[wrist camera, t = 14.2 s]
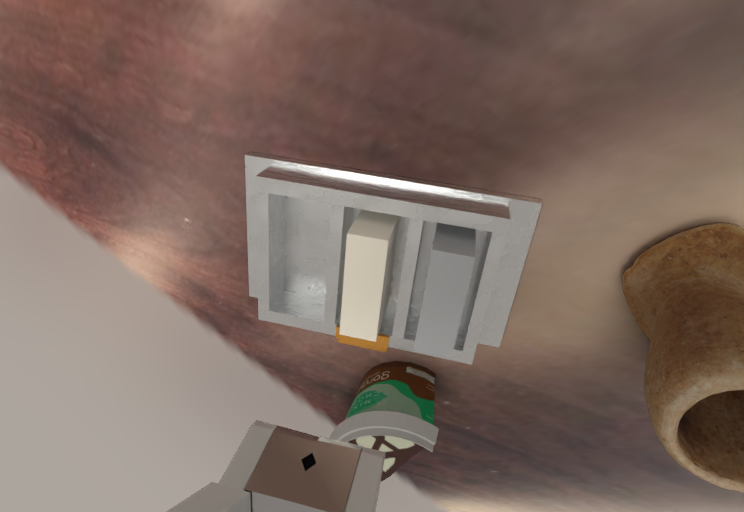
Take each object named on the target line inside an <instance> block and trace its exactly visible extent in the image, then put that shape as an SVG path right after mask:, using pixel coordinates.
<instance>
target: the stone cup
mask: <svg viewBox="0 0 744 512" xmlns="http://www.w3.org/2000/svg"><path fill="white" fill-rule="evenodd" d="M622 285H623V292H624V295H625V298H626V300H627V303H628V305H629V308H630V310H631V312H632V314H633V316H634V318H635V320H636V322H637V323H638V325H639V326H640V328H641V329H642V331H643V332H644V334H645V335H646V336H647V337H648V339H649V340H650V341H651V344H650V347H649V351H648V356H647V362H646V368H645V379H644V389H645V397H646V402H647V407H648V411H649V415H650V418H651V421H652V424H653V427H654V430H655V432H656V434H657V436H658V438H659V440H660V441H661V443H662V444H663V446H664V447H665V449H666V451H667V452H668V453H669V454H670V455H671V456H672V457H673V458H674V459H675V460H676V461H677V462H678V463H679V464H680V465H681V466H682V467H684V468H685V469H687V470H688V471H690V472H691V473H693V474H694V475H696V476H698V477H700V478H701V479H703V480H705V481H707V482H709V483H712V484H714V485H717V486H719V487H722V488H726V489H729V490H736V491H738V492H741V493H744V229H743V228H741V227H740V226H738V225H735V224H729V223H714V224H707V225H703V226H699V227H696V228H692V229H689V230H685V231H683V232H680V233H678V234H675V235H673V236H671V237H669V238H667V239H665V240H663V241H662V242H660V243H658V244H656V245H654V246H652V247H650V248H649V249H647V250H646V251H644V252H643V253H642V254H641V255H640V256H639V257H638V258H637V259H636V261H635V262H634V264H633V266H632V267H630V268H628V269H626V271H625V272H624V273H623V277H622Z"/></svg>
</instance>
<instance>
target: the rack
mask: <svg viewBox="0 0 744 512" xmlns="http://www.w3.org/2000/svg"><path fill="white" fill-rule="evenodd" d="M245 175H246V206H247V238H248V269H249V296H252V297H256V298H258V312H259V319H260V320H264V321H269V322H274V323H278V324H283V325H288V326H292V327H297V328H302V329H307V330H311V331H316V332H321V333H325V334H330V335H335V336H336V337H335V338H338V342H340V343H344V344H349V345H354V346H358V347H363V348H368V349H372V350H377V351H382V352H386V351H387V348H388V347H391V348H396V349H401V350H405V351H410V352H415V353H419V354H424V355H429V356H433V357H438V358H443V359H447V360H452V361H457V362H462V363H466V364H471V365H472V362H473V358H474V355H475V351H476V347H477V343H479V344H484V345H489V346H494V347H500V344H501V340H502V337H503V334H504V330H505V327H506V324H507V320H508V317H509V314H510V310H511V307H512V303H513V300H514V297H515V293H516V290H517V287H518V283H519V280H520V277H521V273H522V270H523V267H524V263H525V260H526V257H527V253H528V250H529V247H530V243H531V240H532V237H533V233H534V230H535V226H536V223H537V220H538V216H539V213H540V210H541V206H542V202H541V199H536V198H530V197H524V196H518V195H512V194H506V193H499V192H493V191H487V190H481V189H475V188H469V187H463V186H457V185H450V184H444V183H438V182H432V181H426V180H420V179H414V178H408V177H401V176H395V175H389V174H383V173H377V172H371V171H365V170H359V169H352V168H346V167H340V166H334V165H328V164H322V163H316V162H310V161H303V160H297V159H291V158H285V157H279V156H273V155H267V154H260V153H254V152H249V153H247V154H246V155H245ZM361 209H363V210H368V211H374V212H380V213H386V214H391V215H397V216H400V221H399V228H398V236H397V243H396V251H395V258H394V266H393V273H392V281H391V288H390V295H389V302H388V305H387V308H386V312H385V315H384V318H383V321H382V324H381V327H380V331H379V334H378V337H377V340H376V342H374V341H369V340H364V339H359V338H354V337H350V336H345V335H340V334H339V333H340V319H341V306H342V293H343V280H344V266H345V253H346V240H347V233H348V231H349V229H350V228H351V226H352V224H353V223H354V221H355V219H356V218H357V216H358V214H359V213H360V211H361ZM437 223H443V224H449V225H454V226H460V227H466V228H471V229H476V253H475V262H474V266H473V270H472V274H471V278H470V283H469V287H468V291H467V295H466V299H465V304H464V308H463V312H462V316H461V320H460V325H459V329H458V333H457V337H456V341H455V346H454V350H453V354H452V358H451V359H450V358H445V357H441V356H436V355H431V354H427V353H422V352H417V351H413V349H414V344H415V338H416V333H417V328H418V322H419V317H420V311H421V306H422V300H423V295H424V290H425V284H426V279H427V273H428V268H429V263H430V257H431V252H432V247H433V242H434V236H435V231H436V226H437Z"/></svg>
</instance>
